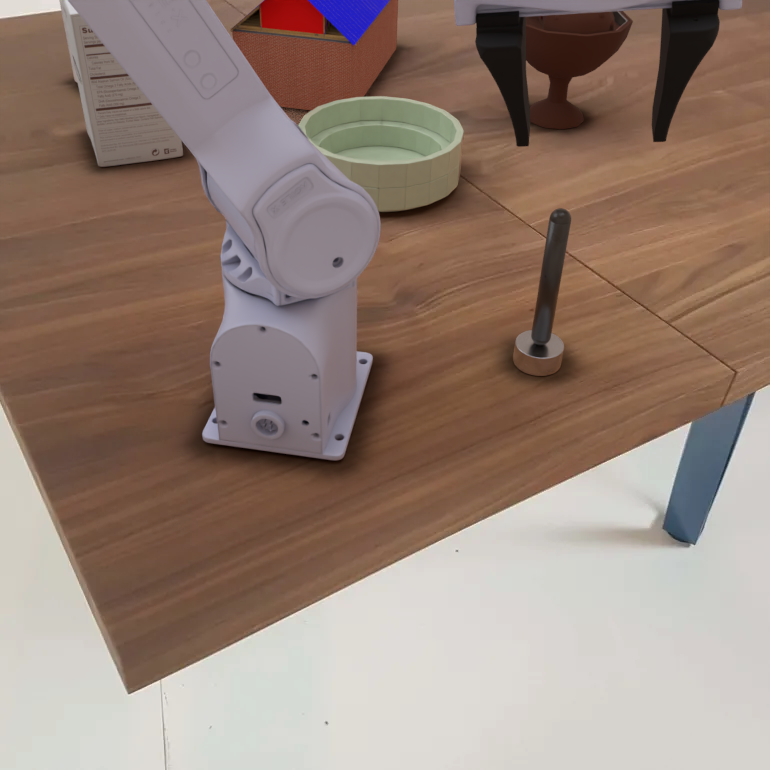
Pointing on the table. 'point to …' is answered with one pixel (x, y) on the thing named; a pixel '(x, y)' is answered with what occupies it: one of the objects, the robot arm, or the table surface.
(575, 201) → the table surface
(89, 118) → the white packaging box
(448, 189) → the bowl
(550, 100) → the ice cream bowl
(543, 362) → the pen in desk stand
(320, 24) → the house
